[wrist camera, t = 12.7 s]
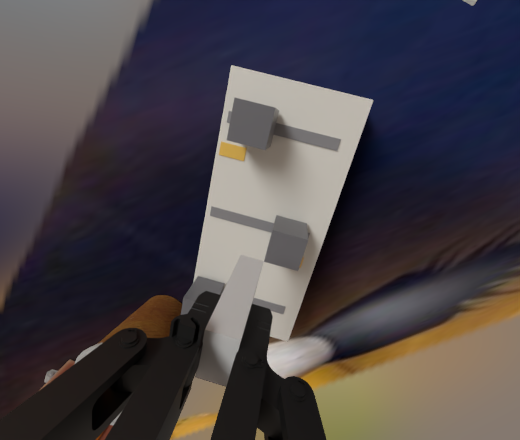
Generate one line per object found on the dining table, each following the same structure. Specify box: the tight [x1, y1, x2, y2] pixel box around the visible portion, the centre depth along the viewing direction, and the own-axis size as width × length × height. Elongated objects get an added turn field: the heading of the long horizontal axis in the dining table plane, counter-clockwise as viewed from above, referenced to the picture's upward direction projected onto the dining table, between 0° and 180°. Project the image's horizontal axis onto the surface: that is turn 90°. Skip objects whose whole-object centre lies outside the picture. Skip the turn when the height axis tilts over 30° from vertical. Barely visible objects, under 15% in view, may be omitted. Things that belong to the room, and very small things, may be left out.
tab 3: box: [264, 215, 308, 271], centre depth 24 cm, size 3×3×4 cm
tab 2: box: [227, 97, 279, 150], centre depth 22 cm, size 3×3×4 cm
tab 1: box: [181, 276, 225, 315], centre depth 28 cm, size 3×3×4 cm
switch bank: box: [193, 65, 373, 342], centre depth 29 cm, size 12×26×4 cm, turn 167°
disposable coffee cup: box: [75, 295, 182, 425], centre depth 32 cm, size 10×10×12 cm
